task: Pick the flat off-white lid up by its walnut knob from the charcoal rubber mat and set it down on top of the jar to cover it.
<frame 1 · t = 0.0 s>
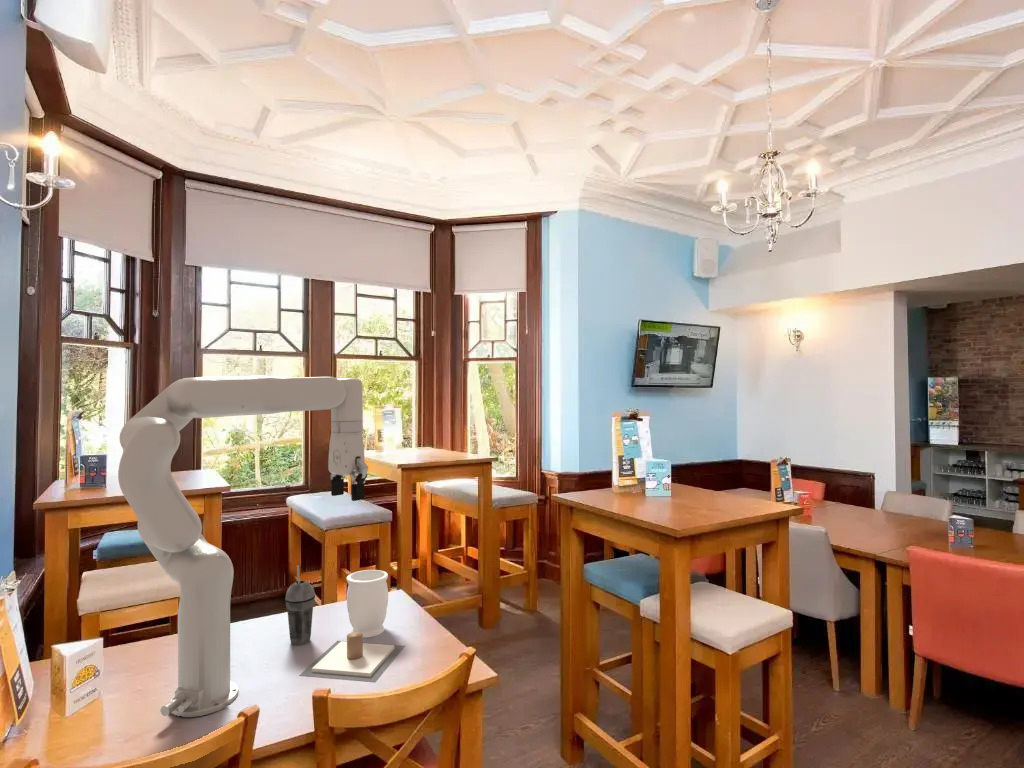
hand: (347, 497, 142), 37 cm above the table, tool pointing down, fingers open, 9 cm apart
mat: (354, 661, 135), on the table
lid: (354, 659, 135), resting on mat
beverage cup: (300, 644, 145), on the table
jar: (367, 633, 151), on the table
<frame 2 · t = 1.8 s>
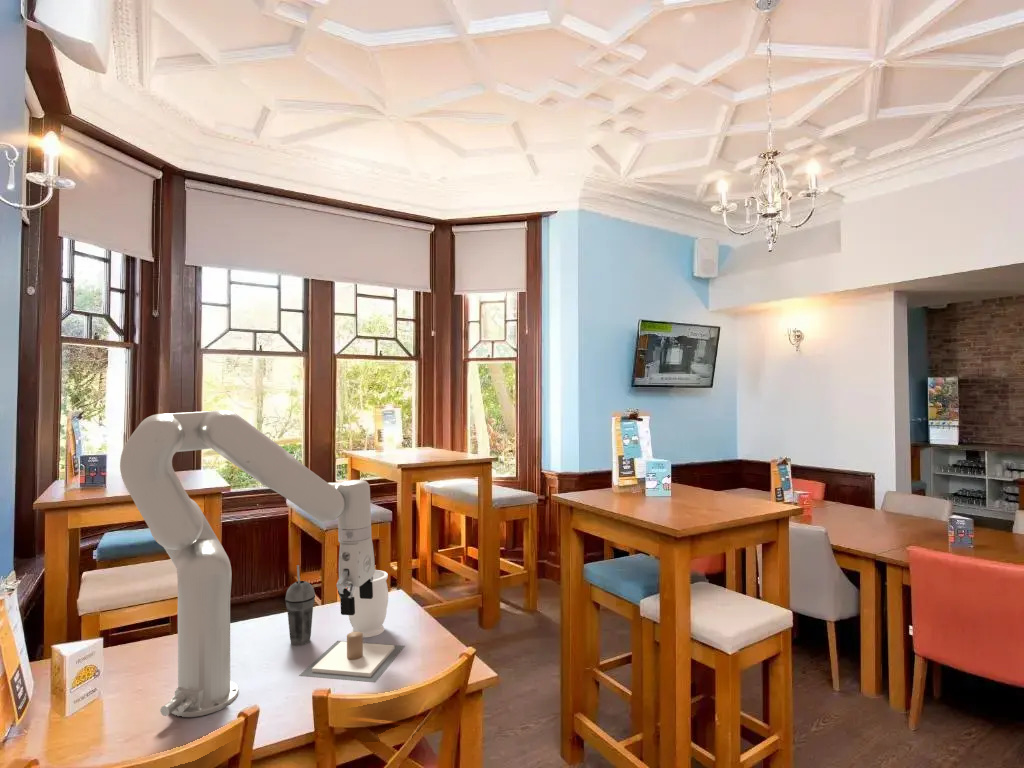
hand: (357, 606, 136), 13 cm above the table, tool pointing down, fingers open, 9 cm apart
nothing on the table moved.
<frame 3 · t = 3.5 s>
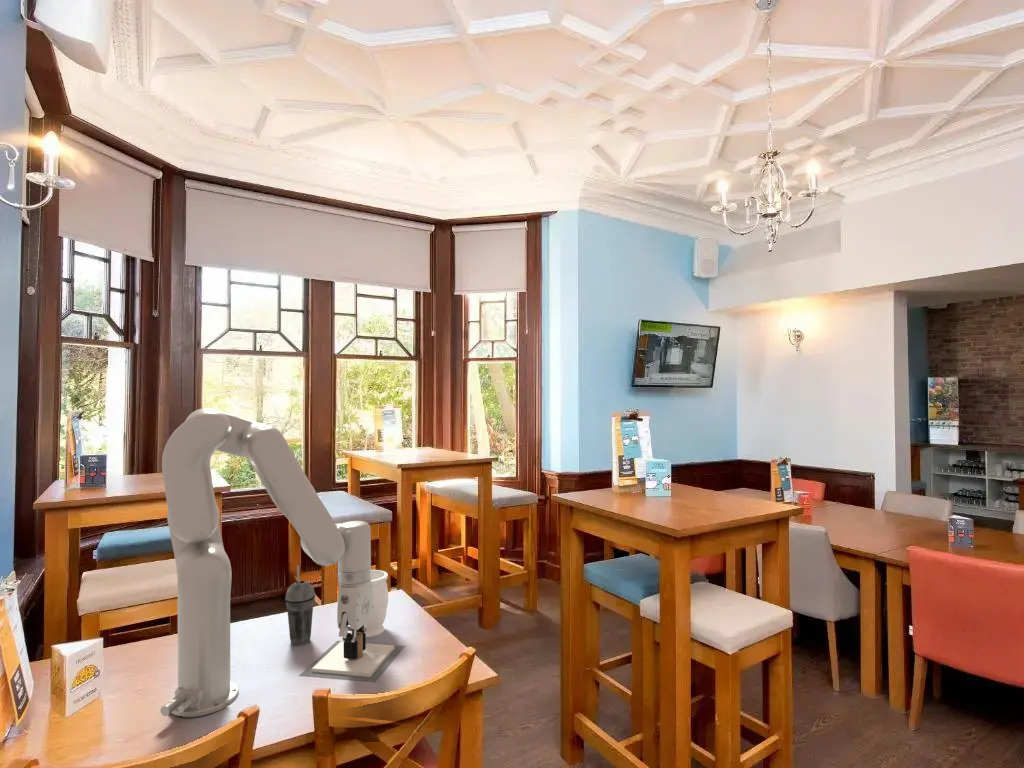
hand: (354, 653, 135), 2 cm above the table, tool pointing down, fingers closed on lid, 3 cm apart
lid: (354, 659, 135), resting on mat, touching gripper
everything else where it was.
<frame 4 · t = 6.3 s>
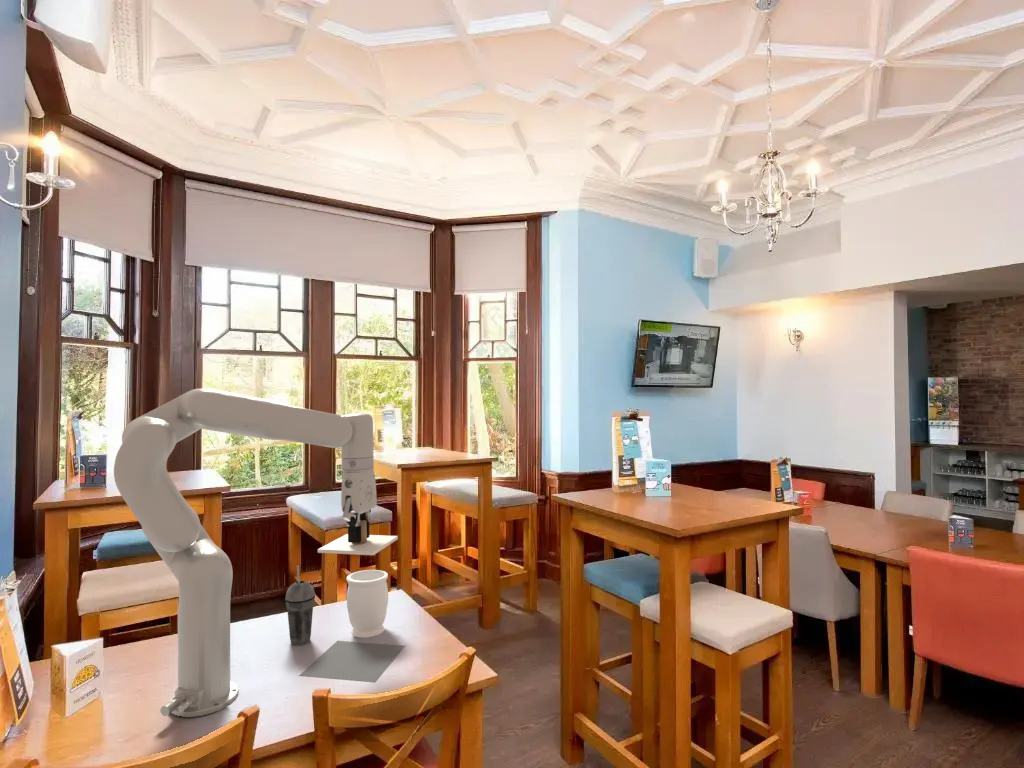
hand: (359, 539, 140), 28 cm above the table, tool pointing down, fingers closed on lid, 3 cm apart
lid: (359, 545, 140), point 26 cm above the table, touching gripper
everything else where it was.
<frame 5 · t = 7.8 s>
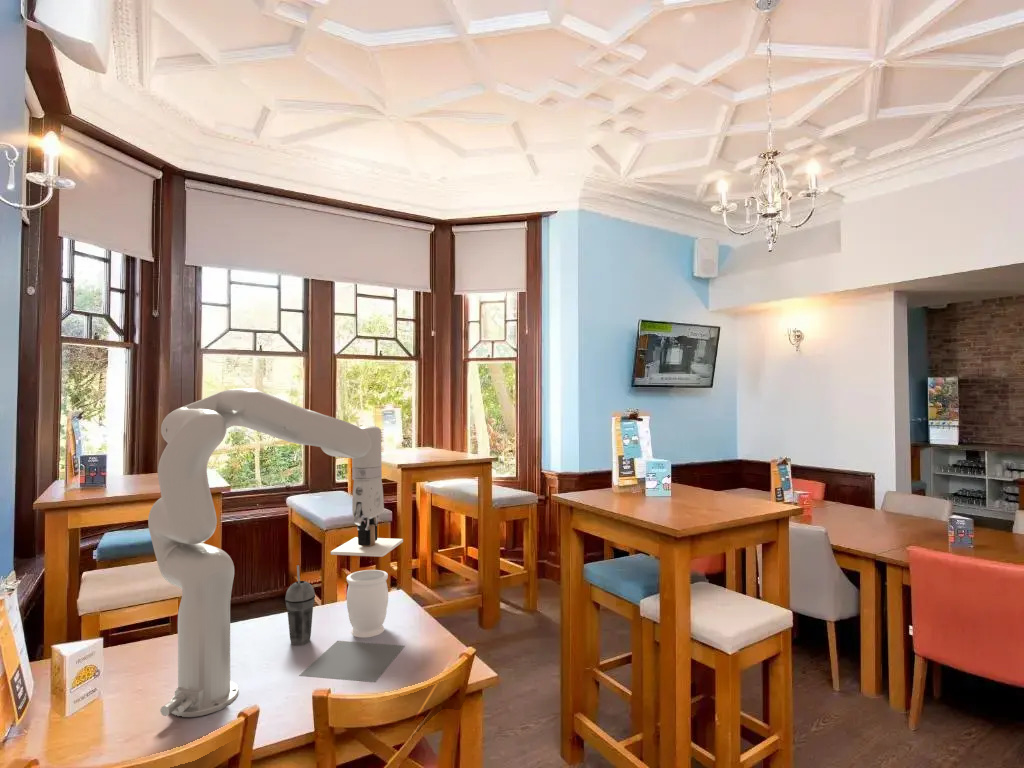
hand: (367, 542, 152), 24 cm above the table, tool pointing down, fingers closed on lid, 3 cm apart
lid: (368, 547, 152), point 22 cm above the table, touching gripper
everything else where it was.
when the fingers open (18 cm above the table, at t = 9.0 s): lid drops 1 cm, resting on jar.
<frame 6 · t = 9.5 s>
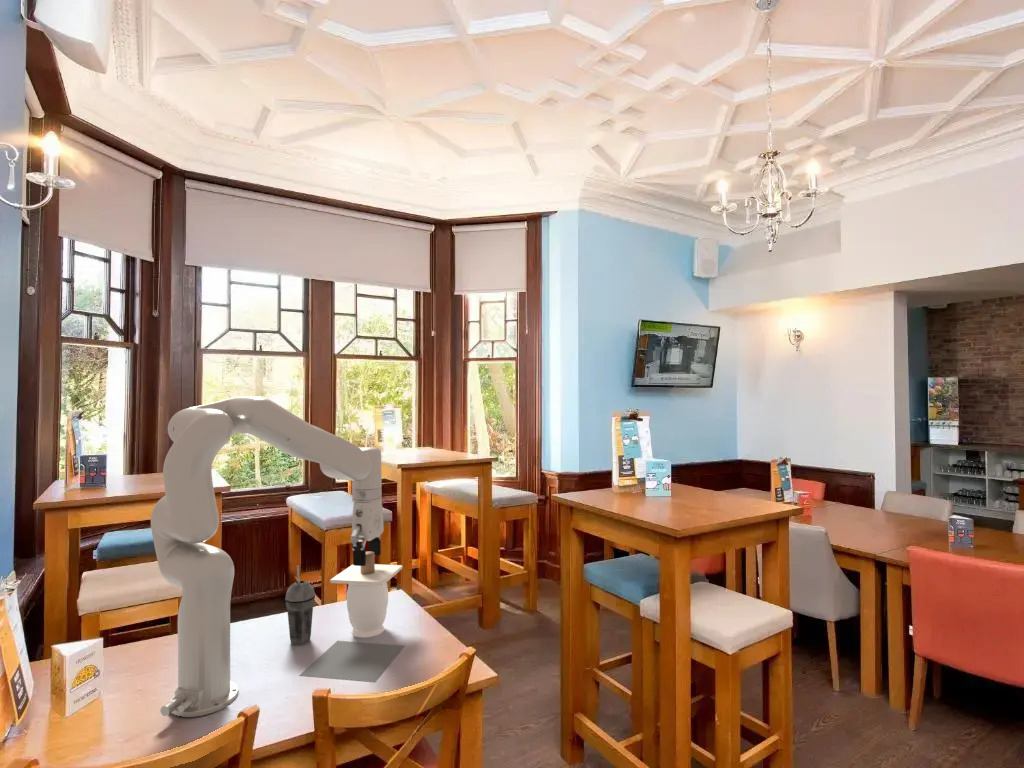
hand: (367, 559, 152), 19 cm above the table, tool pointing down, fingers open, 9 cm apart
lid: (367, 575, 152), point 15 cm above the table, touching jar
jar: (367, 633, 151), on the table, touching lid
everything else where it was.
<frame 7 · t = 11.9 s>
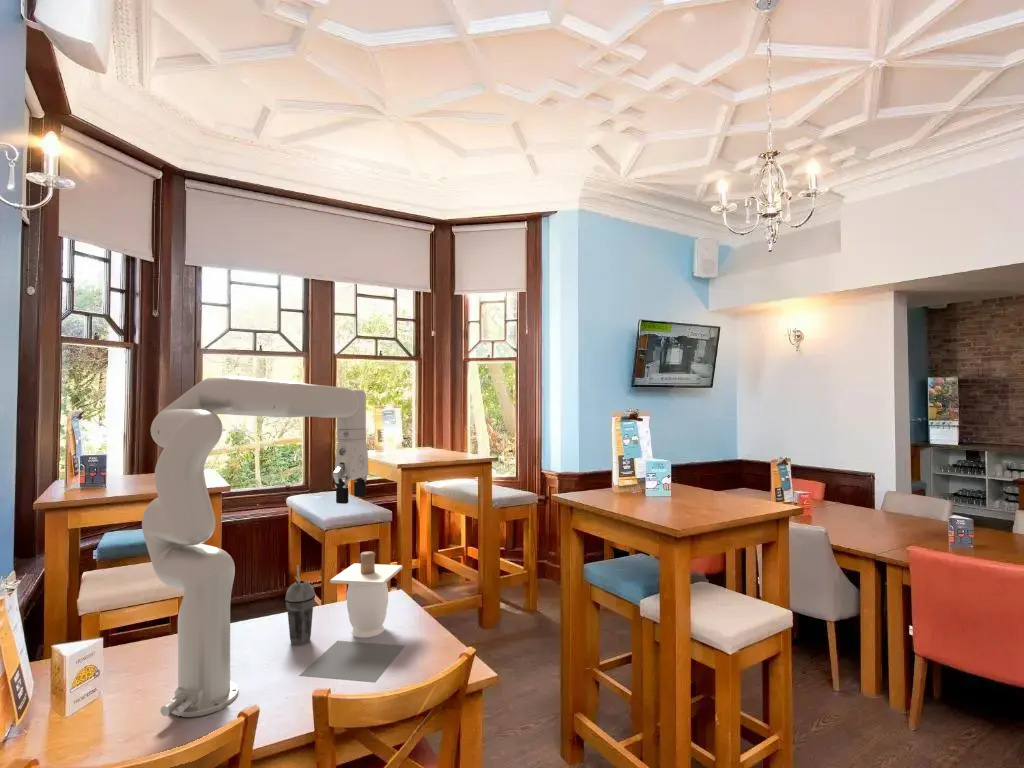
hand: (351, 499, 153), 35 cm above the table, tool pointing down, fingers open, 9 cm apart
nothing on the table moved.
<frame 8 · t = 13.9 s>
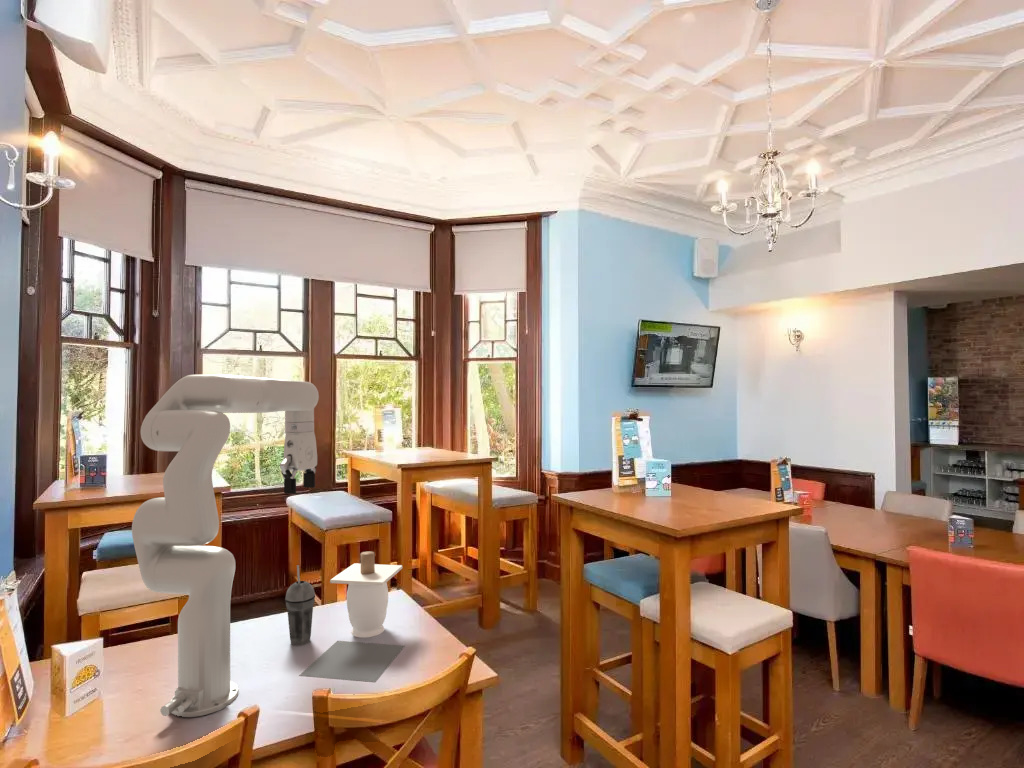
hand: (300, 490, 159), 36 cm above the table, tool pointing down, fingers open, 9 cm apart
nothing on the table moved.
at the end: lid 0.0 cm off-centre on the jar, point 15.2 cm above the jar's base; lid tilted 0°; jar tilted 0° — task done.
